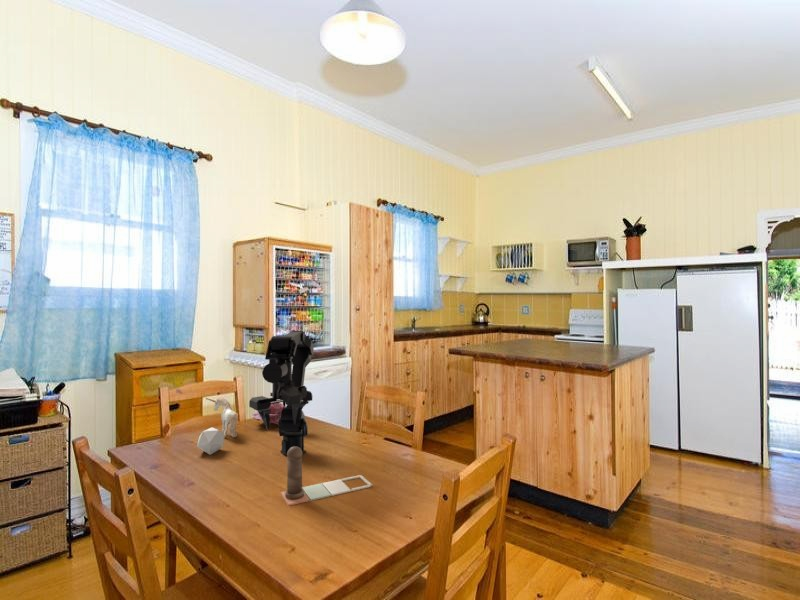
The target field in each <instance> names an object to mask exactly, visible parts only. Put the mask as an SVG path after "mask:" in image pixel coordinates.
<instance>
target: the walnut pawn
mask: <svg viewBox="0 0 800 600" xmlns="http://www.w3.org/2000/svg"><path fill="white" fill-rule="evenodd" d="M286 461H287V463H286V468H287V469H286V470H287V472H286V473H287V474H286V475H287V476H286V478H287V479H286V481H287V482H286V483H287V484H286V490H285V497H286V498H287V499H290V500H296V499H300V498H302V497H303V496H304V489H303V488H302V487H303V453H302V450H301V449H300V448H299V447H297V446H293V447H291V448H290V449H289V450H288V452H287V455H286Z"/></svg>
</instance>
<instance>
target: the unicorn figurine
mask: <svg viewBox="0 0 800 600" xmlns="http://www.w3.org/2000/svg"><path fill="white" fill-rule="evenodd" d="M205 400H208V401H210V402H212V403H214V407H213V410H214V411H218V410H219V409H220V407H222V411H221V415H220V417H221V418H220V419H221V422H222V429H221V432H222V433H223V434H224V435H225V436H224V439H226V438H227V437H228V436H229V437H230V436H231V437H232V438H237V435H238V434H237V421H238V413H237V412H235V411H234V410H232V406H231V403H230V401H228V400H226V398H225V397H217V398H215V399H211V398H208V397H205ZM227 432H228V436H227ZM225 437H226V438H225Z"/></svg>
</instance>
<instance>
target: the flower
mask: <svg viewBox="0 0 800 600" xmlns="http://www.w3.org/2000/svg"><path fill="white" fill-rule="evenodd" d="M285 407H286V406H285V405H284V404H283V403H282V402H281V403H275V404H271V406H270V407H269V409H271V412H270V424H274V425H277V426H278V423H279V419H280V418H281V411H282V409H283V408H285ZM252 416H253V417H252V418H253V419H254V420H256V421H262V422H263V420H262V418H261V416H260V414H259V412H258V411H257V412H253V413H252Z"/></svg>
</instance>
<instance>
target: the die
mask: <svg viewBox="0 0 800 600" xmlns="http://www.w3.org/2000/svg"><path fill="white" fill-rule="evenodd" d="M224 436H225V435H224V434H223V433H222V431H220V430H219V429H217V428H215V427H213V426H212V427H209V428H208V429H205V430H203V431H202V432H201V434H200V435H199V437H198V441H197V445H196V447H197V448H198V449H199V450H201V451H203V452H204V453H206V454H208V455H209V456H210V455H213V454H214V453H216V452H218V451H220V450H221V449H222V447H223V445H224V444H225V443H224V442H225V438H224Z"/></svg>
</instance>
